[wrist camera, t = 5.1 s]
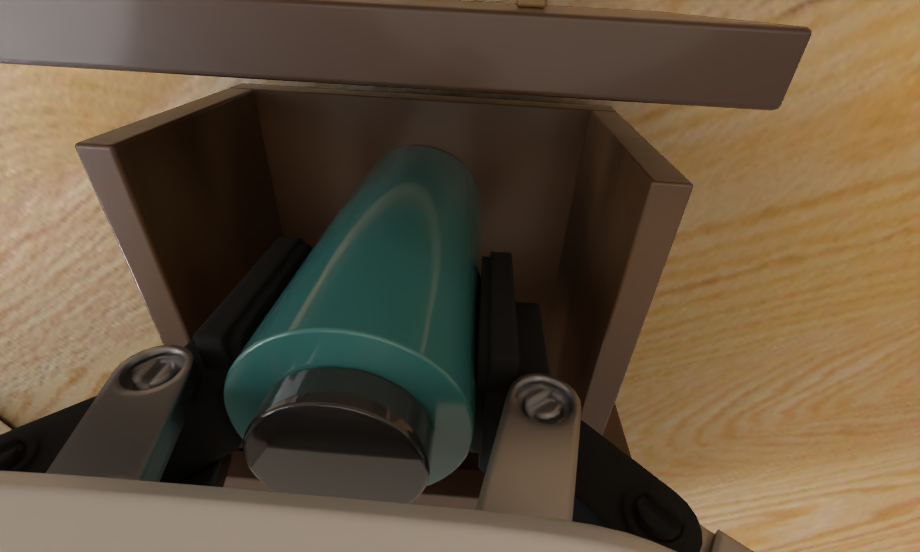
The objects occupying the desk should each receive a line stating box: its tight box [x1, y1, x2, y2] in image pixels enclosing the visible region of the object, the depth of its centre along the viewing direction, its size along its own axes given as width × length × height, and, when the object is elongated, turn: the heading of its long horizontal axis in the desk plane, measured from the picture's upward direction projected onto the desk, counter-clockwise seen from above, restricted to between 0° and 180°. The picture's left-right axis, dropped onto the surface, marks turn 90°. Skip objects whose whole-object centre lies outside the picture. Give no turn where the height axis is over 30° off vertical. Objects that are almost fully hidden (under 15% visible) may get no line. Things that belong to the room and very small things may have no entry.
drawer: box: [0, 0, 811, 471], centre depth 12 cm, size 19×14×7 cm
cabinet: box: [224, 403, 631, 510], centre depth 20 cm, size 16×15×9 cm
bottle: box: [224, 146, 483, 504], centre depth 11 cm, size 4×4×10 cm
